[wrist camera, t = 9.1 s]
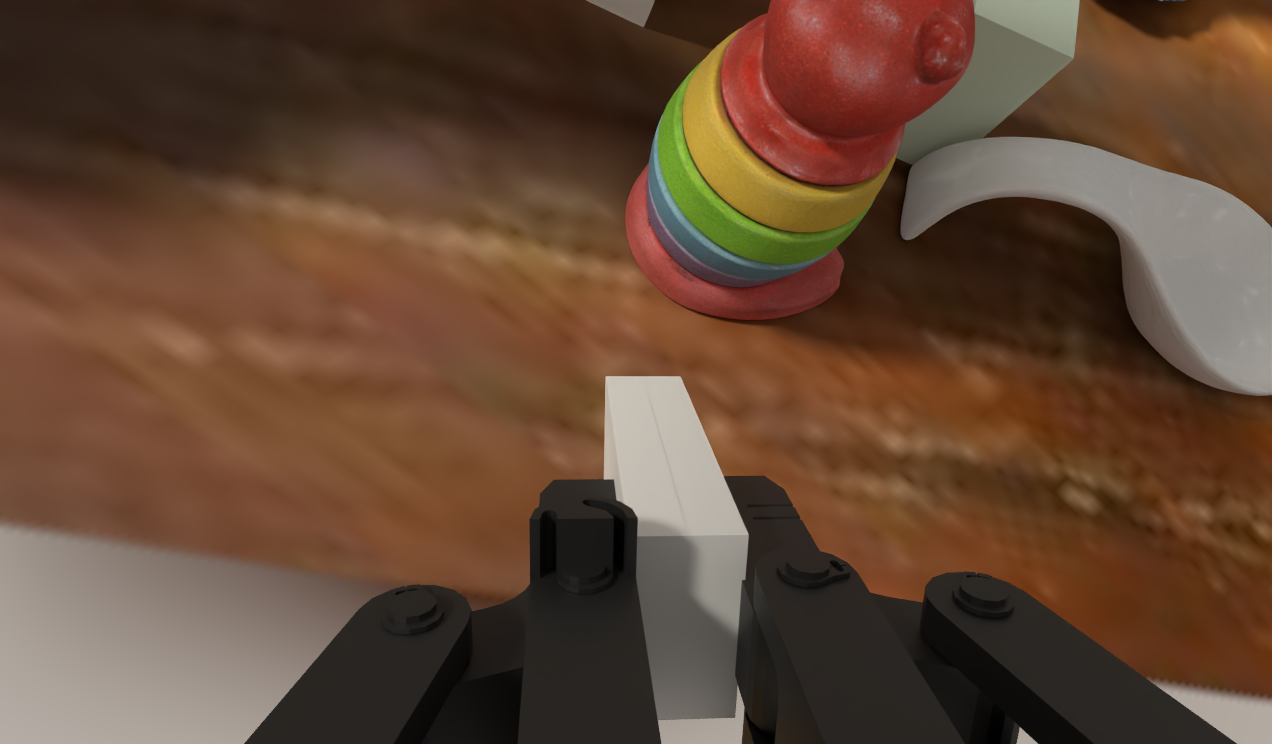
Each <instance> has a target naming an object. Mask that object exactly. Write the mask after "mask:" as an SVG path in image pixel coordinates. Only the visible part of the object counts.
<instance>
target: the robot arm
mask: <svg viewBox="0 0 1272 744" xmlns="http://www.w3.org/2000/svg"><path fill="white" fill-rule="evenodd" d="M737 685H738V687H739V690H740V693H741V697H742V700H743V703H744V707H745V710H744V724H743V735H742V744H1016V743H1017V738H1018V733H1019V728H1020V727H1021V728H1022V729H1023V730H1024V731H1025V732H1026V733H1027V734H1028V735H1029V736H1031V737H1032V738H1033V739H1034V740H1035V741H1036V742H1037V743H1038V744H1236V743H1235V742H1234V741H1232V740H1231V739H1229V738H1228V737H1227V736H1225V735H1224V734H1223V733H1221V732H1220V731H1218V730H1217V729H1216V728H1214V727H1213V726H1211V725H1210V724H1209V723H1207V722H1206V721H1204V720H1203V719H1202V718H1200V717H1199V716H1198V715H1196V714H1195V713H1193V712H1192V711H1191V710H1189V709H1188V708H1186V707H1185V706H1184V705H1182V704H1181V703H1179V702H1178V701H1177V700H1175V699H1174V698H1172V697H1171V696H1170V695H1168V694H1167V693H1165V692H1164V691H1163V690H1161V689H1160V688H1158V687H1157V686H1156V685H1154V684H1153V683H1151V682H1150V681H1149V680H1147V679H1146V678H1145V677H1143V676H1142V675H1140V674H1139V673H1138V672H1136V671H1135V670H1133V669H1132V668H1131V667H1129V666H1128V665H1126V664H1125V663H1124V662H1122V661H1121V660H1119V659H1118V658H1117V657H1115V656H1114V655H1112V654H1111V653H1110V652H1108V651H1107V650H1105V649H1104V648H1103V647H1101V646H1100V645H1098V644H1097V643H1096V642H1094V641H1093V640H1092V639H1090V638H1089V637H1087V636H1086V635H1085V634H1083V633H1082V632H1080V631H1079V630H1078V629H1076V628H1075V627H1073V626H1072V625H1071V624H1069V623H1068V622H1066V621H1065V620H1064V619H1062V618H1061V617H1059V616H1058V615H1057V614H1055V613H1054V612H1052V611H1051V610H1050V609H1048V608H1047V607H1045V606H1044V605H1043V604H1041V603H1040V602H1038V601H1037V600H1036V599H1034V598H1033V597H1032V596H1030V595H1029V594H1027V593H1026V592H1024V591H1022V590H1021V589H1019V588H1017V587H1015V586H1013V585H1012V584H1010V583H1008V582H1005V581H1002V580H999V579H996V578H993V577H992V576H990V575H987V574H982V573H978V574H976V573H975V572H957V573H945V574H942V575H939V576H936V577H933V578H932V579H931V580H930V581H929V583H928V584H927V585H926V587H925V594H924V600H923V603H922V602H916V601H910V600H904V599H897V598H891V597H886V596H882V595H878V594H873V593H870V592H869V590H868V589H867V587H866V585H865V584H864V582H863V581H862V579H861V578H860V576H859V574H858V573H857V572H856V571H855V570H854V569H853V568H852V567H851V566H850V565H849V564H848V563H847V562H845V561H843V560H841V559H840V558H838V557H836V556H834V555H832V554H828V553H825V552H821V551H819V549H818V547H817V546H816V544H815V542H814V540H813V539H812V537H811V535H810V533H809V532H808V530H807V528H806V527H805V525H804V523H803V521H802V520H800V516H799V514H798V513H797V511H796V509H795V508H794V507H793V504H792V502H791V501H790V499H789V497H788V495H787V494H786V492H785V490H784V489H783V488H781V487H780V486H778V485H777V484H775V483H774V482H772V481H771V480H769V479H768V478H766V477H765V476H723V474H722V472H721V470H720V467H719V465H718V463H717V460H716V458H715V456H714V453H713V451H712V449H711V446H710V444H709V442H708V439H707V437H706V435H705V432H704V430H703V428H702V425H701V423H700V421H699V418H698V416H697V414H696V412H695V409H694V407H693V405H692V402H691V400H690V398H689V395H688V393H687V391H686V388H685V386H684V384H683V381H682V379H681V377H680V376H606V384H605V444H604V479H598V480H553V481H552V482H551V483H550V484H549V485H548V486H547V487H546V488H545V489H544V490H543V491H542V492H541V493H540V504H539V507H538V508H537V509H535V510H534V512H533V514H532V516H531V518H530V585H529V586H528V587H527V588H526V590H525V591H523V592H522V593H521V594H519V595H518V596H517V597H515V598H513V599H511V600H509V601H507V602H505V603H502V604H500V605H496V606H493V607H489V608H485V609H481V610H476V611H472V612H471V608H470V606H469V603H468V601H467V599H466V598H465V597H464V596H462V595H461V594H459V593H458V592H456V591H454V590H452V589H448V588H444V587H440V586H436V585H410V586H407V587H405V586H404V587H400V588H396V589H393V590H390V591H388V592H386V593H383V594H381V595H379V596H376V597H374V598H372V599H371V600H370V601H369V602H367V603H366V604H365V605H364V606H362V607H361V608H360V609H359V610H358V611H357V612H356V613H355V614H354V616H353V617H352V618H351V619H350V621H349V622H348V623H347V624H346V625H345V626H344V627H343V629H342V630H341V631H340V632H339V633H338V634H337V636H336V637H335V638H334V639H333V640H332V641H331V643H330V644H329V645H328V646H327V647H326V648H325V650H324V651H323V652H322V653H321V654H320V656H319V657H318V658H317V659H316V660H315V661H314V663H313V664H312V665H311V666H310V667H309V668H308V670H307V671H306V672H305V673H304V674H303V675H302V677H301V678H300V679H299V680H298V681H297V682H296V684H295V685H294V686H293V688H291V689H290V691H289V692H288V693H287V694H286V695H285V697H284V698H283V699H282V700H281V701H280V702H279V704H278V705H277V706H276V707H275V708H274V709H273V711H272V712H271V713H270V714H269V715H268V716H267V718H266V719H265V720H264V721H263V722H262V723H261V725H260V726H259V727H258V728H257V729H256V730H255V732H254V733H253V734H252V735H251V736H250V738H249V739H248V740H247V741H246V742H245V743H244V744H661V739H660V732H659V726H658V720H675V719H704V718H735V710H736V697H737Z"/></svg>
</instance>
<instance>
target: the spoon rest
mask: <svg viewBox="0 0 1272 744" xmlns="http://www.w3.org/2000/svg"><path fill="white" fill-rule="evenodd" d="M1000 197H1030V198H1038V199H1044V200H1051V201H1057V202H1061V203H1065V204H1068V205H1072V206H1075V207H1078V208H1081V209H1083V210H1086V211H1088V212H1090V213H1092V214H1094V215H1096V216H1097V217H1099V218H1100V219H1102V220H1104V221H1105V222H1106V223H1107V224H1109V225H1110V226H1111V228H1112V229H1113V230H1114V232H1115V233H1116V235H1117V236H1118V239H1119V243H1120V250H1121V260H1122V279H1123V289H1124V295H1125V300H1126V305H1127V309H1128V312H1129V314H1130V316H1131V319H1132V321H1133V322H1134V324H1135V326H1136V327H1137V329H1138V331H1139V332H1140V333H1141V334H1142V336H1143V337H1144V338H1145V339H1146V340H1147V341H1148V342H1149V343H1150V344H1151V346H1152V347H1153V348H1154V349H1155V350H1156V351H1157V352H1158V353H1159V354H1160V355H1161V356H1162V357H1163V358H1165V359H1166V360H1167V361H1168V362H1169V363H1170V364H1172V365H1173V366H1174V367H1176V368H1177V369H1179V370H1180V371H1182V372H1183V373H1185V374H1187V375H1188V376H1190V377H1192V378H1194V379H1196V380H1198V381H1200V382H1202V383H1204V384H1207V385H1209V386H1212V387H1214V388H1218V389H1221V390H1225V391H1229V392H1234V393H1239V394H1245V395H1254V396H1266V395H1272V227H1271V226H1270V225H1269V224H1268V223H1267V222H1266V221H1265V220H1264V219H1263V218H1262V217H1261V216H1260V215H1258V214H1257V213H1256V212H1255V211H1254V210H1253V209H1251V208H1250V207H1249V206H1248V205H1246V204H1245V203H1244V202H1242V201H1241V200H1239V199H1238V198H1236V197H1235V196H1233V195H1231V194H1229V193H1227V192H1226V191H1224V190H1222V189H1219V188H1217V187H1215V186H1212V185H1210V184H1208V183H1205V182H1202V181H1199V180H1195V179H1192V178H1188V177H1185V176H1181V175H1178V174H1174V173H1170V172H1167V171H1163V170H1160V169H1157V168H1153V167H1150V166H1147V165H1145V164H1142V163H1139V162H1136V161H1133V160H1130V159H1128V158H1125V157H1122V156H1119V155H1116V154H1113V153H1111V152H1107V151H1104V150H1102V149H1099V148H1095V147H1092V146H1088V145H1083V144H1079V143H1074V142H1069V141H1063V140H1055V139H1046V138H1032V137H993V138H983V139H977V140H971V141H965V142H961V143H956V144H952V145H949V146H946V147H943V148H941V149H938V150H936V151H934V152H932V153H930V154H928V155H926V156H924V157H923V158H921V159H920V160H919V161H917V162H916V163H915V164H914V165H913V166H912V167H911V169H910V172H909V175H908V181H907V188H906V194H905V199H904V204H903V211H902V217H901V229H900V231H901V236H902V238H903V239H905V240H911V239H913V238H915V237H917V236H918V235H920V234H921V233H922V232H924V231H925V230H926V229H928V228H929V227H930V226H932V225H933V224H935V223H936V222H937V221H939V220H940V219H942V218H943V217H945V216H946V215H948V214H950V213H951V212H953V211H955V210H957V209H959V208H962V207H964V206H967V205H969V204H972V203H975V202H979V201H983V200H987V199H993V198H1000Z"/></svg>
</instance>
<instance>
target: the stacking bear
mask: <svg viewBox="0 0 1272 744" xmlns="http://www.w3.org/2000/svg"><path fill="white" fill-rule="evenodd" d="M974 43H975V13H974V4H973V0H771V1H770V5H769V9H768V13H766V14H763V15H761V16H759V17H757V18H755V19H754V20H752V21H750V22H748V23H747V24H746V25H744V26H743V27H742V28H740V29H738V30H737V31H735V32H733V33H732V34H731V35H729V36H728V37H727V38H726V39H725V40H723V41H722V42H721V43H720V44H718V45H717V46H716V47H715V48H714V49H713V50H712V51H711V52H710V53H709V54H708V56H707V57H706V58H705V59H704V60H703V61H702V62H700V63H699V64H698V65H697V66H696V67H695V68H694V69H693V70H692V71H691V72H690V73H689V75H688V76H687V77H686V78H685V80H684V81H683V82H682V83H681V85H680V86H679V87H678V89H677V90H676V91H675V93H674V94H673V96H672V97H671V99H670V100H669V102H668V104H667V106H666V108H665V111H664V113H663V114H662V117H661V119H660V121H659V124H658V126H657V129H656V133H655V136H654V139H653V144H652V148H651V153H650V158H649V163H648V164H647V165H646V167H645V168H644V170H643V171H642V172H641V174H640V175H639V177H638V178H637V180H636V182H635V183H634V185H633V187H632V189H631V192H630V194H629V197H628V201H627V205H626V213H625V223H626V233H627V238H628V242H629V245H630V248H631V251H632V253H633V255H634V258H635V260H636V261H637V263H638V265H639V266H640V268H641V269H642V271H643V272H644V274H645V275H646V276H647V278H648V279H649V280H650V281H651V282H652V283H653V284H654V285H655V286H656V287H657V288H658V289H659V290H660V291H661V292H663V293H664V294H665V295H667V296H668V297H669V298H671V299H672V300H674V301H675V302H677V303H679V304H681V305H682V306H685V307H687V308H689V309H692V310H695V311H698V312H702V313H705V314H709V315H713V316H718V317H723V318H731V319H741V320H765V319H775V318H781V317H786V316H790V315H794V314H797V313H800V312H803V311H806V310H808V309H811V308H813V307H815V306H817V305H819V304H821V303H823V302H824V301H826V300H827V299H829V298H830V297H831V296H832V295H833V294H834V293H835V292H836V291H837V289H838V288H839V285H840V277H841V273H842V271H843V269H844V261H843V259H842V256H841V255H840V253H839V252H838V250H837V246H839V245H840V244H841V243H842V242H843V241H844V240H845V239H846V238H847V237H848V236H849V235H850V234H851V233H852V231H853V230H854V229H855V228H856V227H857V225H858V224H859V223H860V221H861V220H862V219H863V217H864V216H865V214H866V213H867V211H868V210H869V208H870V207H871V205H872V203H873V201H874V199H875V197H876V195H877V194H878V192H879V191H880V189H881V188H882V186H883V184H884V182H885V181H886V179H887V177H888V175H889V173H890V171H891V169H892V166H893V164H894V162H895V159H896V155H897V152H898V149H899V146H900V144H901V141H902V138H903V134H904V129H905V123H907V122H909V121H911V120H912V119H914V118H916V117H918V116H919V115H921V114H922V113H923V112H925V111H926V110H928V109H929V108H930V107H932V106H933V105H934V104H935V103H937V102H938V101H939V100H941V99H942V98H943V97H944V96H945V95H946V94H947V93H948V92H949V91H950V90H951V89H952V88H953V87H954V86H955V85H956V84H957V82H958V81H959V80H960V79H961V77H962V76H963V74H964V73H965V71H966V69H967V68H968V65H969V63H970V61H971V58H972V54H973V50H974Z"/></svg>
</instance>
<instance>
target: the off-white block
mask: <svg viewBox="0 0 1272 744" xmlns="http://www.w3.org/2000/svg"><path fill="white" fill-rule="evenodd" d="M586 1H588V2H590V3H592V4H594V5H596V6H599V7H601V8H603V9H605V10H607V11H609V12H611V13H613V14H616V15H618V16H620V17H622V18H624V19H626V20H628V21H630V22H633V23H635V24H637V25H639V26H641V27H643V28H644V25H645V23H646V21H647V18H648V16H649V14H650V11H651V9H652V7H653V4H654V2H655V0H586Z"/></svg>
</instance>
